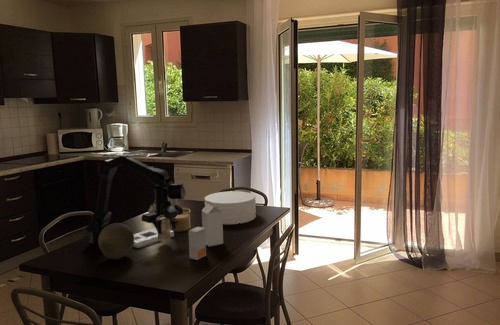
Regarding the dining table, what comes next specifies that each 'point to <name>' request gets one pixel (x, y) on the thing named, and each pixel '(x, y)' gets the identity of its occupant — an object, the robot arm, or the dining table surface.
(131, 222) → the dining table surface
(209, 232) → the milk carton
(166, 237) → the wooden peg
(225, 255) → the dining table surface
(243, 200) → the plate stack
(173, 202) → the ceramic cottage
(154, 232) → the white flat tray
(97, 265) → the dining table surface
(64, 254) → the dining table surface
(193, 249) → the skincare box
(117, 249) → the cantaloupe
